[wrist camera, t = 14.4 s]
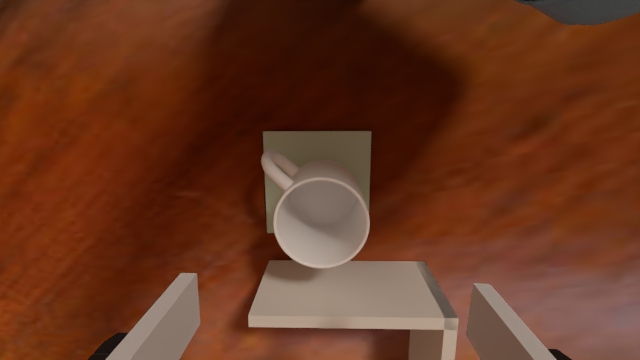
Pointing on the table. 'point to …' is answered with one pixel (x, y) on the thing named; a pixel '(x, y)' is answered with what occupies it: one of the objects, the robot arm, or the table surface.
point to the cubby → (360, 302)
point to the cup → (317, 211)
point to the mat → (318, 157)
